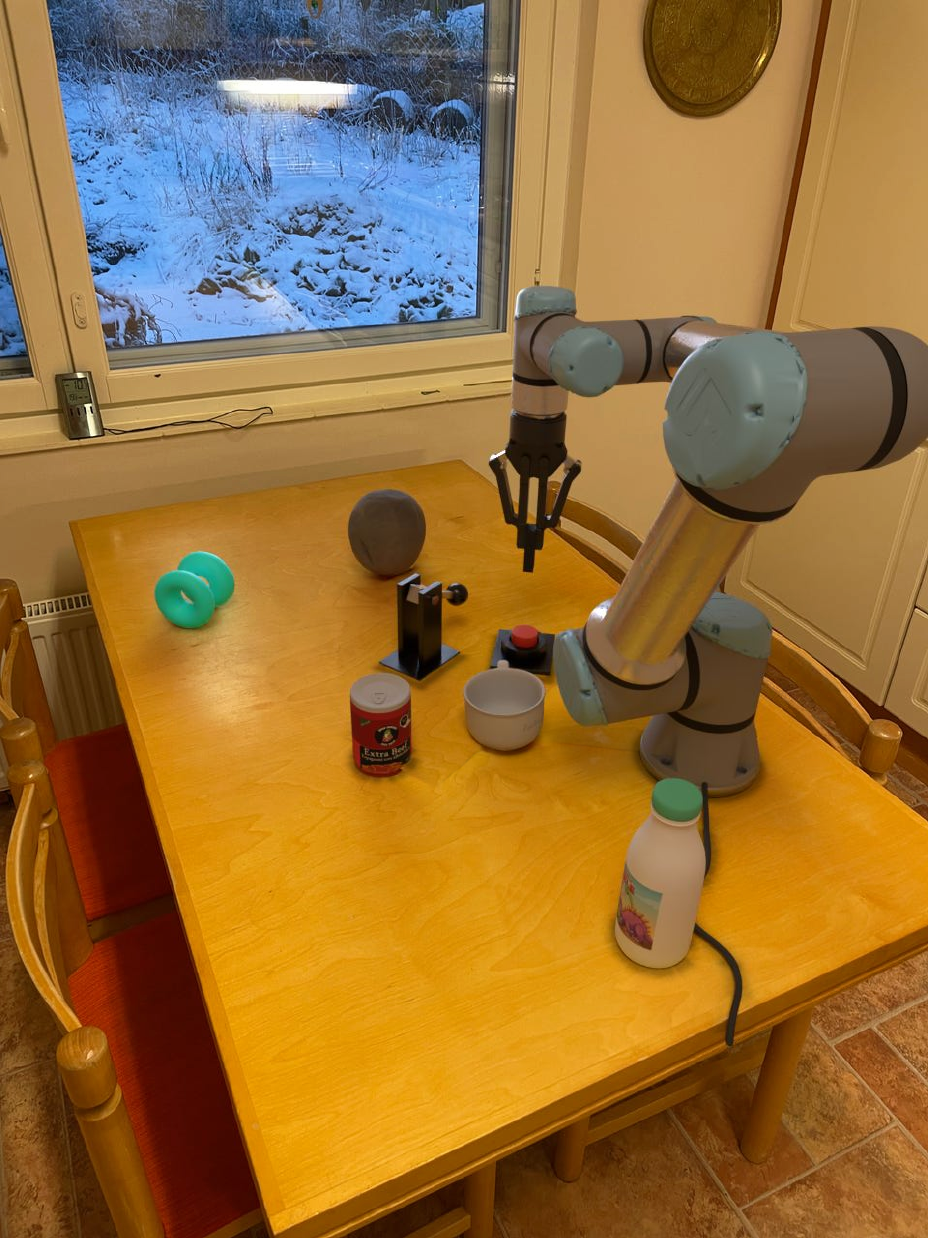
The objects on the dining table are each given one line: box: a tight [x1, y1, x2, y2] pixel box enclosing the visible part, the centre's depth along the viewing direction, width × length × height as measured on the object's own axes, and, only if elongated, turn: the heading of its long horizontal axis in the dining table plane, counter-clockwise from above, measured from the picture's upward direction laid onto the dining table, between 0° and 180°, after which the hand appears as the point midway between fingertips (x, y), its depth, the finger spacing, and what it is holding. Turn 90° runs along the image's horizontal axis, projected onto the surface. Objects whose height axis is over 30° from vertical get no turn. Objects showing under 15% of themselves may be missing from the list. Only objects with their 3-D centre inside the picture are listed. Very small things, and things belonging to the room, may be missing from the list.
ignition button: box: [511, 624, 539, 648], centre depth 138 cm, size 4×4×2 cm
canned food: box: [349, 672, 412, 778], centre depth 115 cm, size 8×8×11 cm
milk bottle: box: [614, 778, 706, 969], centre depth 89 cm, size 8×8×20 cm
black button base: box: [489, 628, 556, 677], centre depth 139 cm, size 11×9×4 cm
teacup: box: [462, 660, 547, 752], centre depth 122 cm, size 14×11×8 cm
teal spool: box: [154, 551, 236, 629], centre depth 147 cm, size 10×10×10 cm
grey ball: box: [347, 488, 427, 577], centre depth 161 cm, size 14×14×15 cm
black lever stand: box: [378, 573, 461, 682], centre depth 135 cm, size 10×8×14 cm
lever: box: [407, 582, 469, 607], centre depth 137 cm, size 13×4×4 cm, turn 143°
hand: (528, 567), depth 132 cm, fingers closed
